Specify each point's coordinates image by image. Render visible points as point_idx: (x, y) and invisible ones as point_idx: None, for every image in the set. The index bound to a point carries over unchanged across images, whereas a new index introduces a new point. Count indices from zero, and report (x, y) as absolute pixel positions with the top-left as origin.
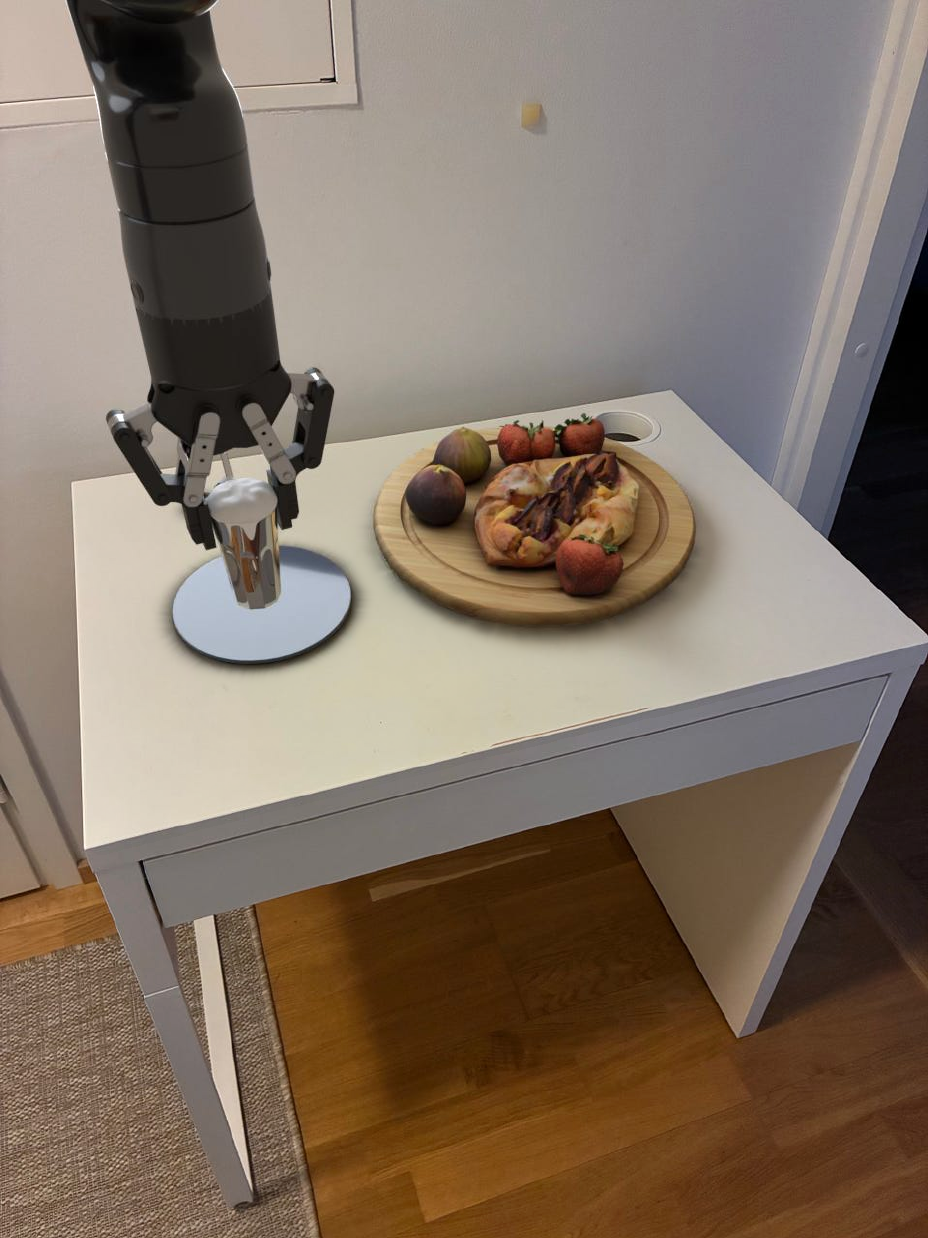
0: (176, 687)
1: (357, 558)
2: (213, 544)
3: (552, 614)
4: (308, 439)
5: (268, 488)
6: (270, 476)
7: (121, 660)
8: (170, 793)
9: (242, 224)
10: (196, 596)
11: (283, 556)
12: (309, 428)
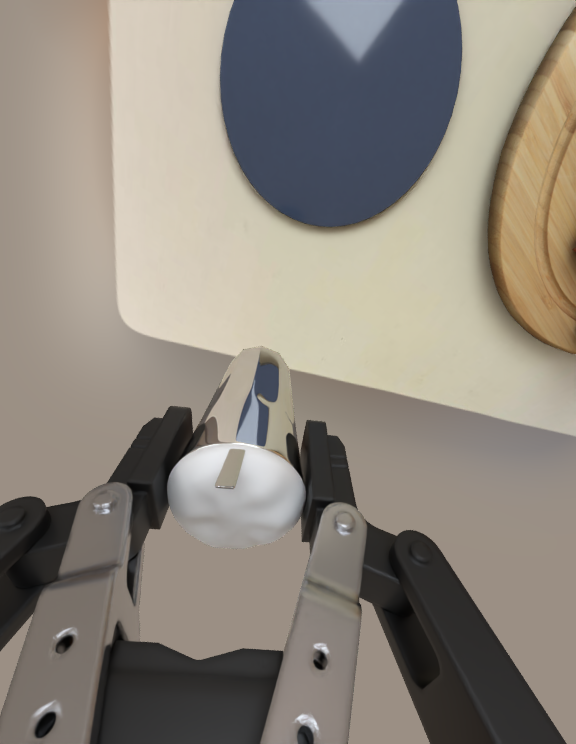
0: (201, 196)
1: (495, 69)
2: None
3: (541, 337)
4: (404, 676)
5: (289, 526)
6: (309, 514)
7: (149, 105)
8: (174, 317)
9: None
10: (263, 20)
11: None
12: (422, 721)
